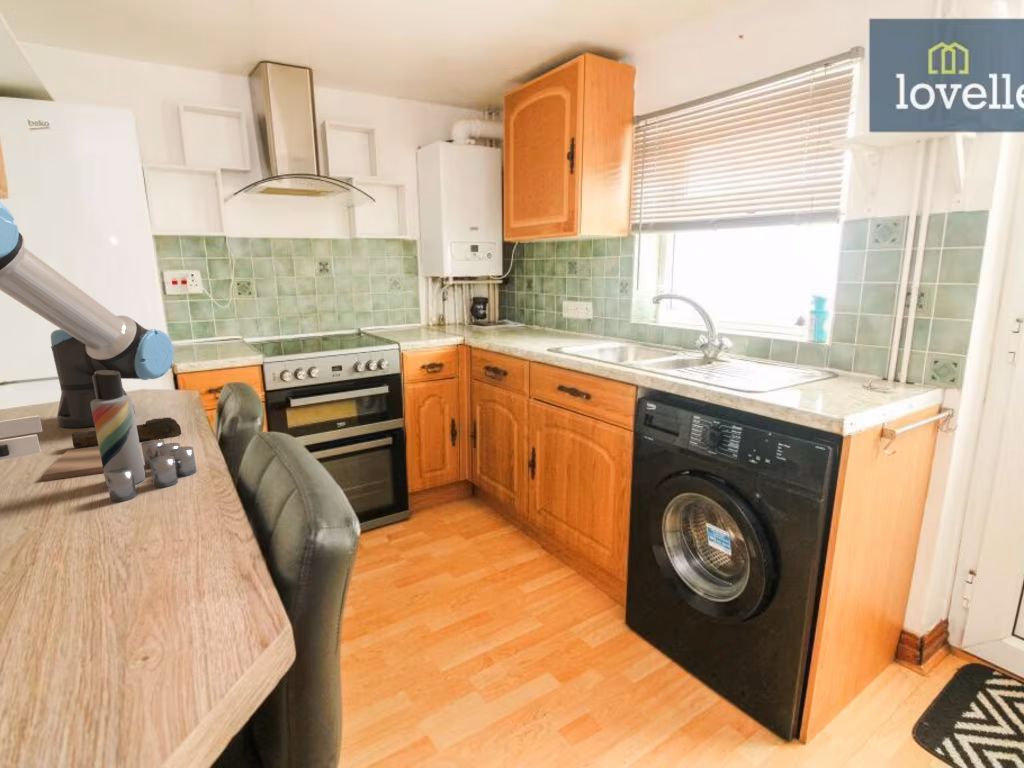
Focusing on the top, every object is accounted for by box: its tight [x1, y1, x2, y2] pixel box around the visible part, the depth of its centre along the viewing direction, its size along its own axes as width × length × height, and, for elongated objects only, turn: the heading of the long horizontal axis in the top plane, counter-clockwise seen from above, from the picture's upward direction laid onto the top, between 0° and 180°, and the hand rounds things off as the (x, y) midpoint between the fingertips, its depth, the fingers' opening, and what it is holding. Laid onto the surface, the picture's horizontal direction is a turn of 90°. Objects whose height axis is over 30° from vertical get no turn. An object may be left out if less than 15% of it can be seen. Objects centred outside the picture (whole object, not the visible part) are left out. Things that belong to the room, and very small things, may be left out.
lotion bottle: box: [91, 370, 146, 485], centre depth 93 cm, size 6×6×20 cm
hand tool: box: [71, 416, 182, 449], centre depth 116 cm, size 19×4×5 cm, turn 115°
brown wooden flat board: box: [42, 446, 104, 482], centre depth 104 cm, size 14×11×1 cm
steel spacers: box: [104, 439, 197, 503], centre depth 97 cm, size 18×12×4 cm, turn 24°
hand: (40, 432), depth 87 cm, fingers open, 13 cm apart
